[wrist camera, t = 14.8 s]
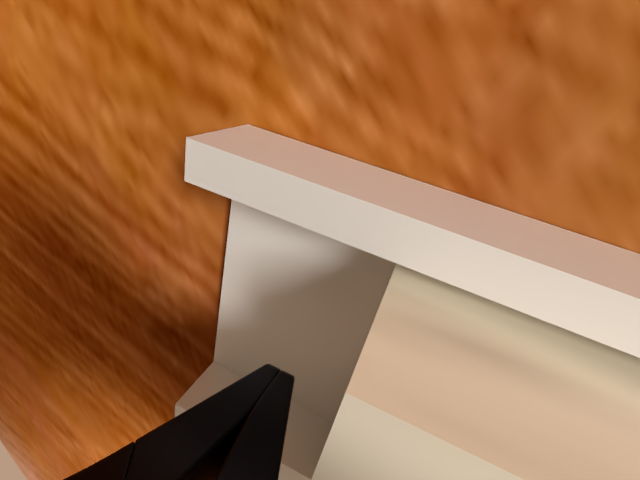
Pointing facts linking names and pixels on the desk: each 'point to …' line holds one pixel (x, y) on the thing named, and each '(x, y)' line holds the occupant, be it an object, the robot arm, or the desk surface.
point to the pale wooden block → (481, 395)
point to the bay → (372, 269)
